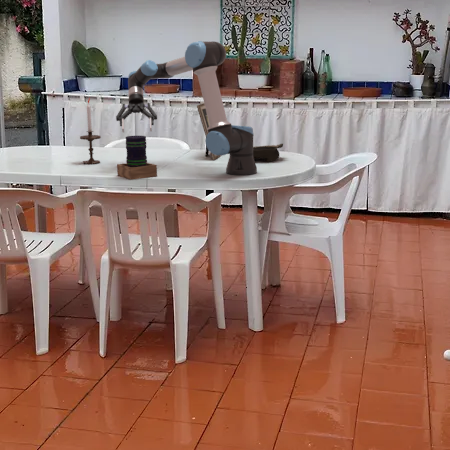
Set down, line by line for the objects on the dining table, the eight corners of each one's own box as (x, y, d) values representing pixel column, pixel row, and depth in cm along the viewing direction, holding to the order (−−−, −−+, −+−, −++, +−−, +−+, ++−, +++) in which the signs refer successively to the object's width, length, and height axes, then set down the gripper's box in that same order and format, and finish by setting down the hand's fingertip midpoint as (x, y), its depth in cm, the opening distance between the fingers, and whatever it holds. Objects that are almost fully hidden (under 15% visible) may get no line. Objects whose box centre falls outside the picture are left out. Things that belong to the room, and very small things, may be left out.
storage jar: (123, 169, 357) (122, 137, 353) (130, 165, 366) (129, 135, 363) (143, 169, 355) (142, 138, 351) (150, 166, 364) (149, 135, 360)
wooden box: (157, 176, 360) (156, 165, 358) (131, 179, 352) (130, 168, 351) (142, 172, 371) (142, 161, 369) (117, 175, 363) (117, 164, 362)
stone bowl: (286, 162, 395) (285, 145, 393) (239, 166, 396) (238, 149, 393) (283, 155, 419) (281, 138, 417) (238, 159, 420) (237, 142, 417)
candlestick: (102, 161, 408) (98, 96, 400) (101, 164, 397) (98, 97, 389) (81, 161, 406) (78, 96, 398) (81, 165, 396) (77, 98, 388)
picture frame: (214, 160, 406) (213, 105, 399) (197, 160, 408) (195, 104, 401) (226, 152, 437) (226, 100, 430) (210, 151, 439) (209, 100, 432)
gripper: (160, 101, 383) (162, 134, 372) (111, 103, 381) (112, 135, 370) (160, 91, 377) (162, 124, 366) (110, 93, 375) (110, 126, 363)
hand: (137, 130), depth 368 cm, fingers open, 13 cm apart
